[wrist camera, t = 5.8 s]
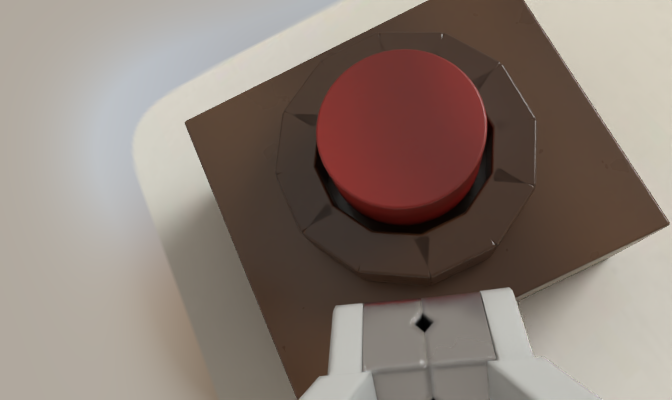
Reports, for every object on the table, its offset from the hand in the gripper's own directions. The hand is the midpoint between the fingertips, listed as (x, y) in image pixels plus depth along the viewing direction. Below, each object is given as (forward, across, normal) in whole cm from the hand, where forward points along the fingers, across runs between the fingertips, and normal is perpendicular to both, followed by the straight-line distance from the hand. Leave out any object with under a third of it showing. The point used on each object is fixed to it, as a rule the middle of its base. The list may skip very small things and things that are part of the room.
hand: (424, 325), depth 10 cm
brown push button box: (+13, 0, +6) cm, 14 cm away
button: (+8, 0, 0) cm, 8 cm away
